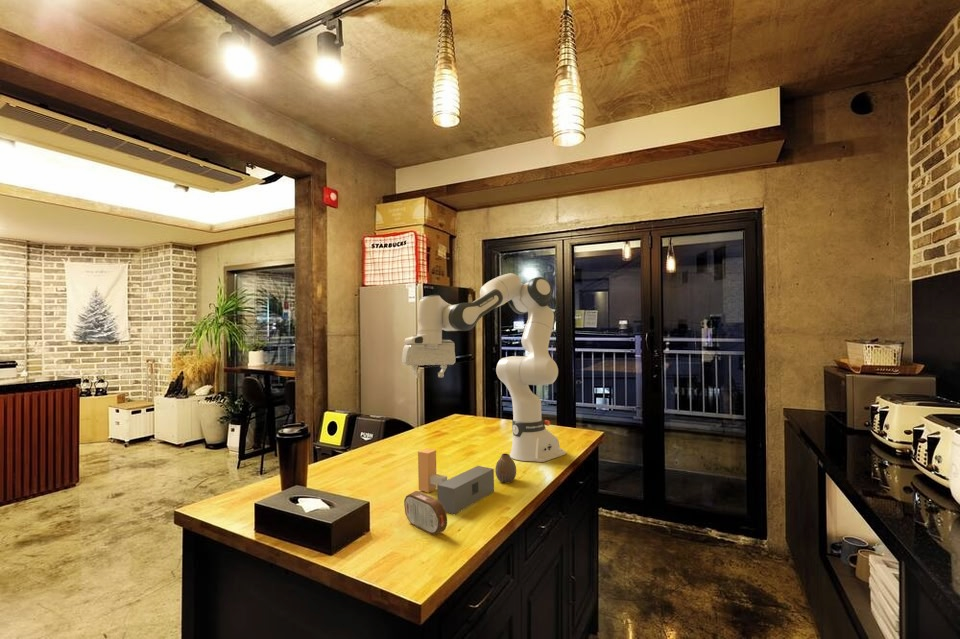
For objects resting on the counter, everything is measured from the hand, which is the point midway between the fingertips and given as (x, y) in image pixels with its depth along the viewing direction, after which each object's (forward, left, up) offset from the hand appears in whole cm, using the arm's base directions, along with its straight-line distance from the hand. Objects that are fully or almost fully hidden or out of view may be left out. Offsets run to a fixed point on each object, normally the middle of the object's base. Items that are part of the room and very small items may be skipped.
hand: (429, 377), depth 161 cm
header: (+3, +32, -33) cm, 46 cm away
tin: (+21, +42, -33) cm, 58 cm away
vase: (-16, +25, -33) cm, 44 cm away
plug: (+8, +20, -33) cm, 39 cm away
